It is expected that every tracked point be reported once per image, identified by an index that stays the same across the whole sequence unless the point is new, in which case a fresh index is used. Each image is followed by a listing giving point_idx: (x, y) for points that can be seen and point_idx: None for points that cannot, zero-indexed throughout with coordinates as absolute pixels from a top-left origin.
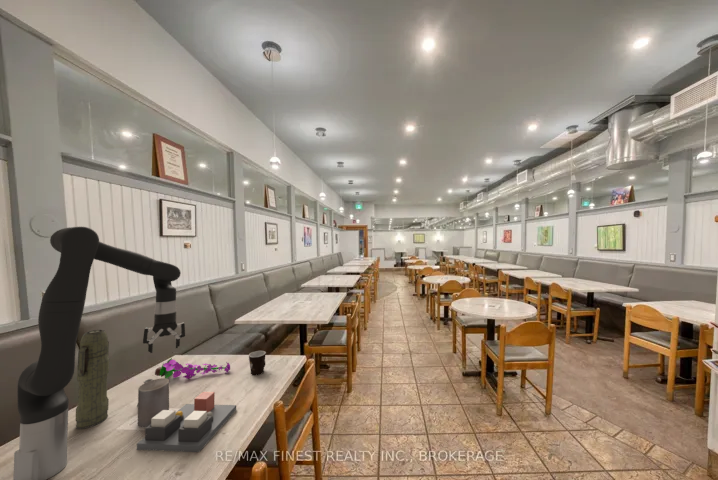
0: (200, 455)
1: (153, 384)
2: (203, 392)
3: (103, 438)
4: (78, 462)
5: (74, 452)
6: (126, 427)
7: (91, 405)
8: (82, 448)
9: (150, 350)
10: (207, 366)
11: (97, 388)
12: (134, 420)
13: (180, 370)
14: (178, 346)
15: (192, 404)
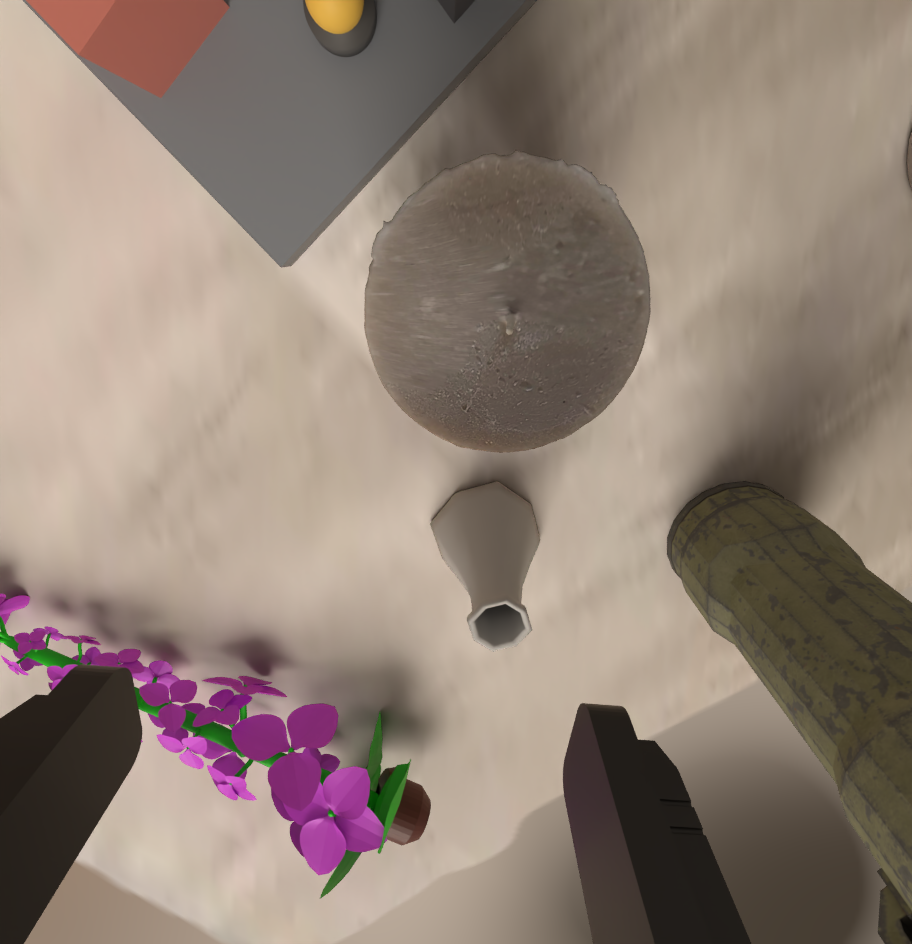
0: None
1: (516, 312)
2: (72, 29)
3: (726, 283)
4: (868, 90)
5: (853, 243)
6: None
7: (819, 547)
8: (819, 255)
9: (640, 755)
10: None
11: (869, 622)
12: None
13: (287, 745)
14: (49, 697)
15: (238, 216)
